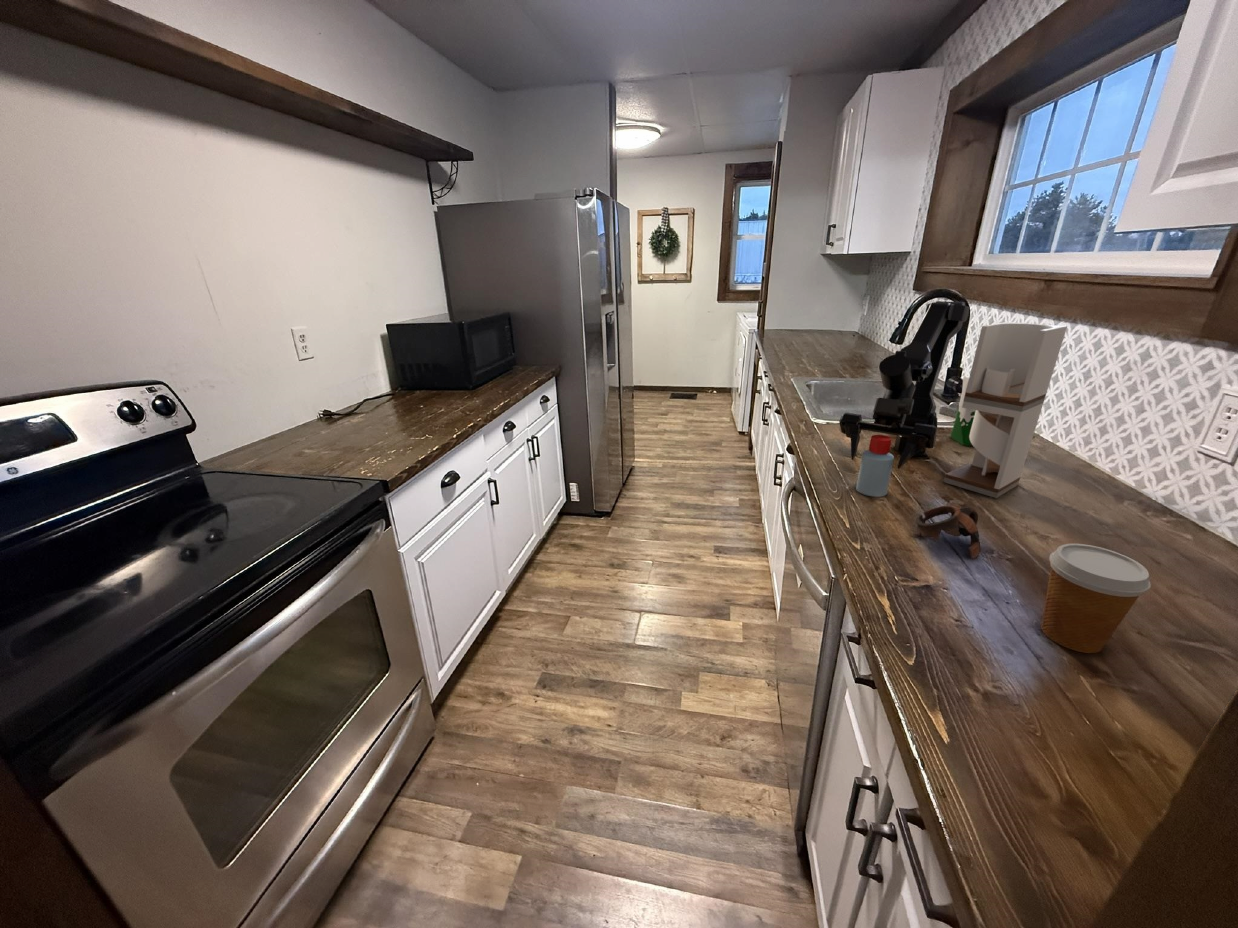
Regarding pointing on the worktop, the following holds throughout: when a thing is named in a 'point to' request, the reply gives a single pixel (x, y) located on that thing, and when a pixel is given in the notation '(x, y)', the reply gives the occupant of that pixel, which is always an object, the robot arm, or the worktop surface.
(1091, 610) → the disposable coffee cup
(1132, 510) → the worktop surface
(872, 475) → the bottle
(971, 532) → the pottery mug
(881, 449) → the cap
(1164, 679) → the worktop surface
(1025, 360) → the white tower frame
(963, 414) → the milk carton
